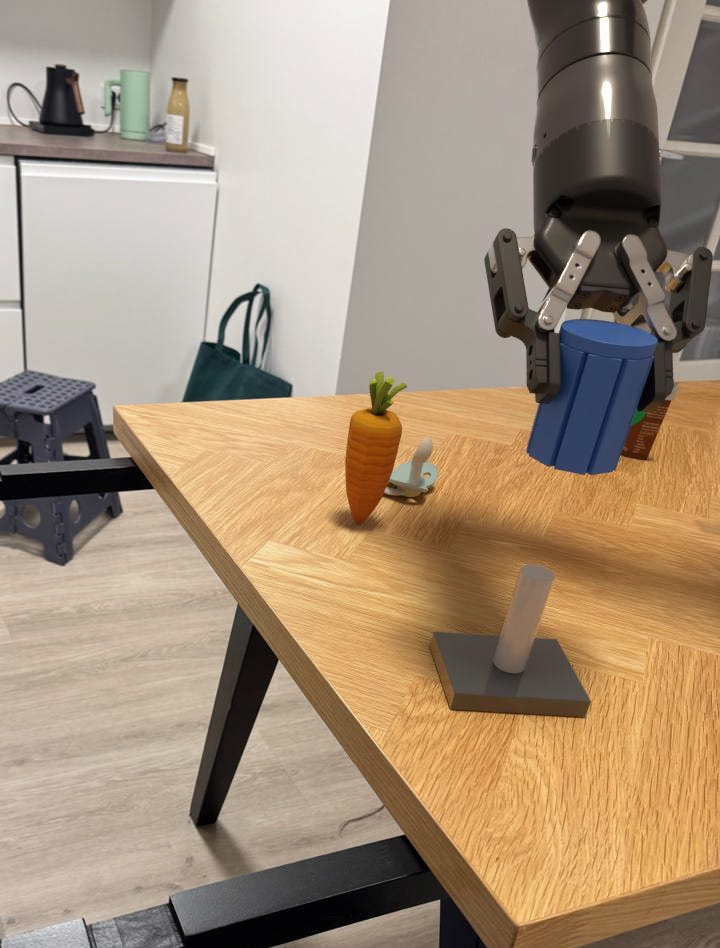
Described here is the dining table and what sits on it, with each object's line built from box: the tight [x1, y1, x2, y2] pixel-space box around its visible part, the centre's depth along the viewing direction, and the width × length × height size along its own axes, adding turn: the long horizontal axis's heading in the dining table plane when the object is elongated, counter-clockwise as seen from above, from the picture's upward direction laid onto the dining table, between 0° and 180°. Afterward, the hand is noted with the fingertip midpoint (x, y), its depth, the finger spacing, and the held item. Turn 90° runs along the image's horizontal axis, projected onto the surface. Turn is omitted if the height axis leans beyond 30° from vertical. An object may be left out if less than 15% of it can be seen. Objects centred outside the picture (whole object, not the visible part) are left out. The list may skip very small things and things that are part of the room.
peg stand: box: [429, 563, 592, 718], centre depth 65 cm, size 10×8×10 cm
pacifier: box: [384, 435, 439, 498], centre depth 94 cm, size 7×6×6 cm
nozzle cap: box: [525, 318, 658, 476], centre depth 56 cm, size 6×6×8 cm
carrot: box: [344, 371, 408, 525], centre depth 83 cm, size 5×5×15 cm
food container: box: [620, 380, 679, 461], centre depth 110 cm, size 12×6×10 cm, turn 178°
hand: (600, 401), depth 54 cm, fingers closed on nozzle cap, 6 cm apart
